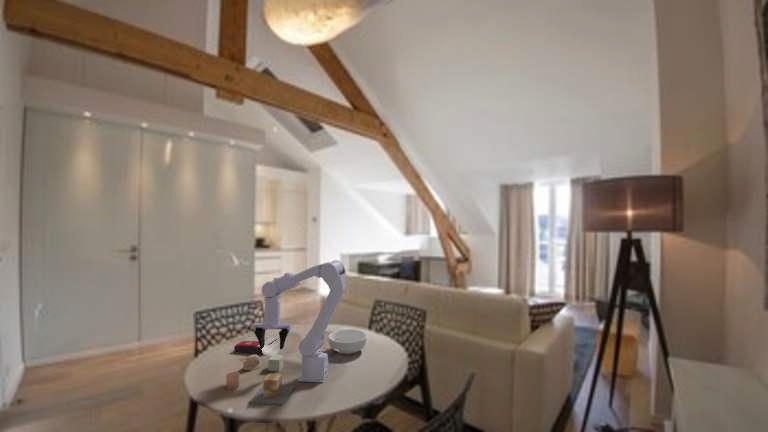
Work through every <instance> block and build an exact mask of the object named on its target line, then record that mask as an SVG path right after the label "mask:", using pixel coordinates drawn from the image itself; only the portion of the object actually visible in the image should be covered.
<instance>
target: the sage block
mask: <svg viewBox="0 0 768 432" xmlns="http://www.w3.org/2000/svg"><path fill="white" fill-rule="evenodd" d="M274 355H275V356H277V357H275V356H271V357H269V358H268V360H267V361H268V362H267V363H268V364H267V370H268V372H281V370H282V369H283V368H284V365H285V364H284V362H285V361H284V362H283V361H282V360H281V358H282V357H284V355H282V354H280V355H279V354H274ZM284 358H285V357H284Z"/></svg>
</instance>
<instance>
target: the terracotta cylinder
mask: <svg viewBox="0 0 768 432" xmlns="http://www.w3.org/2000/svg"><path fill="white" fill-rule="evenodd" d="M225 382H226V384H225V385H226V387H225V388H226V390H227V391H235V390H237V389H239V387H240V372H239V371H231V372H229V373H227V374H226V380H225Z"/></svg>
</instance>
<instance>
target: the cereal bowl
mask: <svg viewBox="0 0 768 432" xmlns="http://www.w3.org/2000/svg"><path fill="white" fill-rule="evenodd" d="M367 336H368V335H367V334H366V333H365V332H364V331H362V330H360V329H353V328H352V329H349V328H348V329H339V330H336V331H332V332H331V333H329V334H328V344H329V347H330V348H331V349H332V350H333V349H338V350H339V352H338V353H340V354H342V355H353V354H355V353H357V352H359V351H361V350H362V349H363V348H365V346H366V343H367ZM336 338H342V339H343V340H344V341H345V343H344V342H337V341H334V340H335V339H336Z"/></svg>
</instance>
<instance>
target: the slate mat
mask: <svg viewBox="0 0 768 432" xmlns="http://www.w3.org/2000/svg"><path fill="white" fill-rule="evenodd" d="M294 389H295V386H293V385H282V391H281V392H280V394H279V395H278V396H277V397H263V385H262V386H261V387H260V388H259V390H257V392H256V393H255V394H253V396H252V397H251V399H249V401H248V404H252V403H254V404H255V405H272V406H273V405H275V406H283V405H284V403H285V402H286V401H287V399H288V398H289V396H290V395H291V394H292V393H293V391H294Z"/></svg>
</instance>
